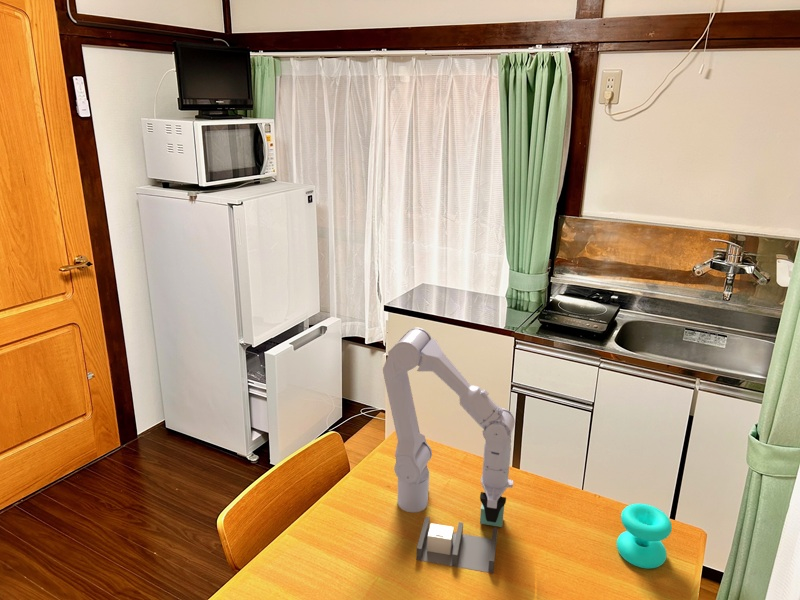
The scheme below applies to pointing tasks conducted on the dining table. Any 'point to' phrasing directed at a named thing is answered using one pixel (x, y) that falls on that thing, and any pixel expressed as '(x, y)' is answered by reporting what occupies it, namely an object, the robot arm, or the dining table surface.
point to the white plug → (440, 539)
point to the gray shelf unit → (461, 550)
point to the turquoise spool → (644, 535)
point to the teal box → (497, 523)
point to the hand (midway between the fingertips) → (492, 514)
